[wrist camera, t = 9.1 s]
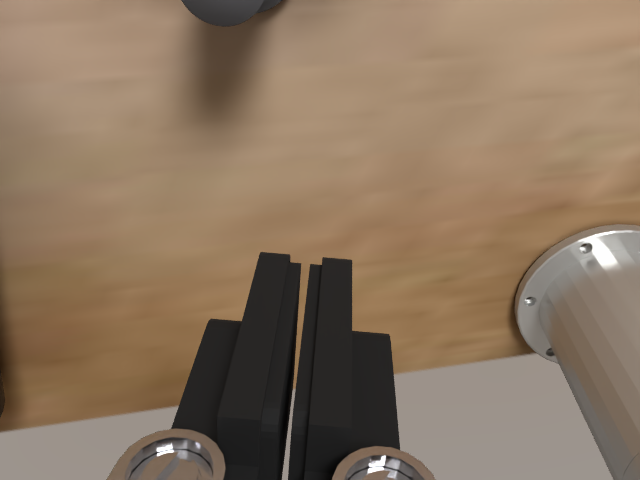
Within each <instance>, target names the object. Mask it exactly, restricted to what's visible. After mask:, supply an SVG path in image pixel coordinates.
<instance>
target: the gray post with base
mask: <svg viewBox="0 0 640 480" xmlns="http://www.w3.org/2000/svg"><path fill="white" fill-rule="evenodd" d="M280 1H282V0H182V2H183V3H184V5H185V6H186V7H187V8H188V10H189V11H190V12H191V13H192V14H194V15H195V16H196V17H198V18H199V19H201V20H202V21H204V22H207V23H209V24H212V25H216V26H233V25H237V24H240V23H242V22H244V21H246V20H248V19H249V18H251V17H252V16H253V15H254V14H255V13H260V12H263V11H266V10H268V9H270V8H272V7H274V6H275V5H277V4H278V3H279V2H280Z"/></svg>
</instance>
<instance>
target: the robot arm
mask: <svg viewBox="0 0 640 480" xmlns="http://www.w3.org/2000/svg"><path fill="white" fill-rule="evenodd" d="M300 274H301V263H291V262H290V255H289V254H277V253H265V252H261V253H260V255H259V259H258V262H257V266H256V270H255V274H254V278H253V281H252V285H251V289H250V293H249V297H248V300H247V304H246V308H245V312H244V316H243V319H242V321H231V320H219V319H210V320H209V322H208V324H207V326H206V329H205V332H204V335H203V338H202V341H201V344H200V346H199V349H198V352H197V355H196V358H195V361H194V364H193V367H192V370H191V373H190V376H189V378H188V381H187V384H186V387H185V390H184V393H183V396H182V399H181V402H180V405H179V408H178V410H177V413H176V416H175V419H174V422H173V425H172V428H171V429H169V430H163V431H158V432H155V433H153V434H150V435H148V436H145V437H143V438H141V439H140V440H138V441H137V442H136V443H134V444H133V445H131V446H130V447H129V448H128V449H127V451H126V452H125V453H124V454H123V455H122V456H121V457H120V459H119V460H118V461H117V463H116V465H115V466H114V468H113V470H112V471H111V473H110V475H109V476H108V478H107V479H106V480H282V472H283V464H284V456H285V448H286V439H287V431H288V423H289V415H290V406H291V399H292V390H293V380H294V366H295V350H296V335H297V320H298V304H299V289H300ZM514 310H515V317H516V322H517V324H518V327H519V330H520V332H521V334H522V336H523V338H524V339H525V341H526V343H527V344H528V345H529V346H530V347H531V348H532V349H533V350H534V351H535V352H536V353H537V354H539V355H541V356H542V357H544V358H545V359H547V360H550V361H553V362H556V363H558V364H559V365H560V367H561V369H562V371H563V373H564V376H565V378H566V380H567V382H568V384H569V386H570V388H571V390H572V393H573V395H574V397H575V399H576V401H577V403H578V405H579V407H580V409H581V412H582V414H583V416H584V418H585V420H586V422H587V424H588V426H589V429H590V431H591V433H592V435H593V436H594V439H595V441H596V444H597V445H598V447H599V450H600V452H601V454H602V456H603V458H604V460H605V462H606V465H607V467H608V469H609V471H610V473H611V475H612V477H613V480H640V226H637V225H623V224H616V225H608V226H600V227H596V228H592V229H589V230H585V231H582V232H580V233H577V234H575V235H573V236H570V237H568V238H566V239H564V240H562V241H561V242H559V243H558V244H556V245H554V246H553V247H551V248H550V249H549V250H547V251H546V252H545V253H544V254H543V255H542V256H540V257H539V258H538V259H537V260H536V261H535V263H534V264H533V265H532V266H531V267H530V268H529V270H528V271H527V272H526V274H525V276H524V278H523V279H522V281H521V283H520V285H519V288H518V291H517V294H516V297H515V308H514ZM288 480H435V478H434V475H433V474H432V473H431V471H430V470H429V469H428V468H427V467H426V466H425V465H424V464H423V463H422V462H421V461H419V460H418V459H416V458H415V457H413V456H412V455H410V454H409V453H406V452H404V451H401V450H400V443H399V432H398V420H397V409H396V397H395V387H394V374H393V362H392V351H391V341H390V336H389V334H382V333H370V332H358V331H352V260H347V259H336V258H324V257H323V259H322V265H314V264H310V271H309V280H308V288H307V297H306V305H305V314H304V323H303V331H302V340H301V349H300V357H299V366H298V374H297V383H296V392H295V401H294V409H293V419H292V431H291V445H290V459H289V474H288Z"/></svg>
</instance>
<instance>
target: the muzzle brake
mask: <svg viewBox="0 0 640 480" xmlns="http://www.w3.org/2000/svg"><path fill="white" fill-rule="evenodd" d="M4 403H5V397H4V389H3V383H2V377H1V371H0V417H1V415H2V412H3V409H4Z"/></svg>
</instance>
